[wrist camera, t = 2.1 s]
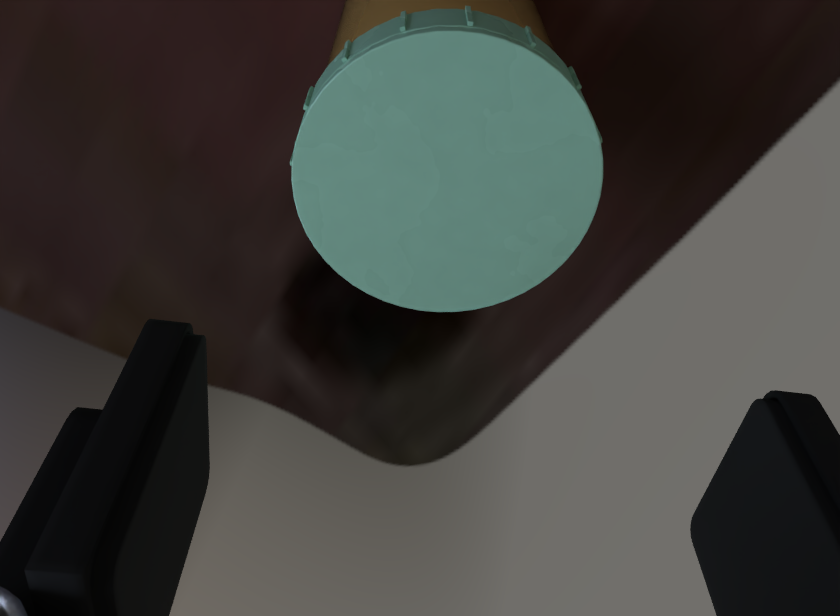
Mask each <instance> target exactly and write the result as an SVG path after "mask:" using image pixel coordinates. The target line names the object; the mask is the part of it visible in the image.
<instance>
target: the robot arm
mask: <svg viewBox="0 0 840 616" xmlns="http://www.w3.org/2000/svg"><path fill="white" fill-rule="evenodd" d="M208 428H209V427H208V391H207V353H206V338H205V336H204V335H195V334H193V328H192V325H191V324H190V323H181V322H173V321H164V320H155V319H149V320H148V321H147V322H146V324H145V325H144V327H143V329H142V331H141V333H140V335H139V337H138V339H137V341H136V343H135V346H134V348H133V350H132V352H131V354H130V356H129V358H128V360H127V362H126V364H125V366H124V368H123V370H122V372H121V374H120V376H119V378H118V380H117V382H116V384H115V386H114V388H113V390H112V392H111V394H110V396H109V398H108V400H107V402H106V404H105V406H104V409H103V410H100V409H89V408H79V407H77V408H76V409H75V410H73V411H72V412H71V413H70V415H69V417H68V418H67V419H66V421H65V423H64V425H63V427H62V429H61V430H60V432H59V434H58V436H57V438H56V439H55V442H54V443H53V445H52V447H51V449H50V451H49V452H48V454H47V456H46V458H45V460H44V462H43V464H42V465H41V467H40V469H39V471H38V473H37V475H36V477H35V478H34V480H33V482H32V484H31V486H30V488H29V490H28V491H27V493H26V495H25V497H24V499H23V501H22V503H21V504H20V506H19V508H18V510H17V512H16V514H15V515H14V517H13V519H12V521H11V523H10V525H9V527H8V528H7V530H6V532H5V534H4V536H3V538H2V540H1V541H0V616H169V614H170V610H171V607H172V604H173V600H174V597H175V594H176V590H177V587H178V584H179V580H180V577H181V574H182V570H183V567H184V564H185V560H186V557H187V554H188V550H189V547H190V543H191V540H192V537H193V534H194V530H195V527H196V524H197V520H198V517H199V514H200V510H201V507H202V503H203V500H204V497H205V493H206V489H207V485H208V479H209V469H210V466H209V465H210V462H209V429H208ZM690 530H691V539H692V542H693V546H694V548H695V551H696V555H697V557H698V561H699V564H700V567H701V570H702V573H703V575H704V579H705V582H706V585H707V588H708V591H709V594H710V597H711V600H712V603H713V606H714V609H715V612H716V615H717V616H840V435H839V434H838V432H837V430H836V429H835V427H834V425H833V424H832V422H831V420H830V418H829V417H828V415H827V414H826V412H825V410H824V408H823V407H822V405H821V404H820V402H819V401H818V400H817V398H816V397H814V396H812V395H810V394H802V393H793V392H784V391H770V392H769V393H767V394H766V395H765V396H764V398H763V399H756V400H755V401H754V402H753V403H752V405H751V406H750V408H749V410H748V412H747V414H746V416H745V418H744V420H743V422H742V423H741V425H740V427H739V429H738V431H737V433H736V435H735V437H734V438H733V441H732V442H731V444H730V446H729V448H728V450H727V452H726V454H725V456H724V457H723V459H722V461H721V463H720V465H719V467H718V469H717V471H716V473H715V474H714V476H713V478H712V480H711V482H710V484H709V486H708V488H707V490H706V492H705V493H704V495H703V497H702V499H701V501H700V503H699V505H698V507H697V509H696V511H695V513H694V515H693V517H692V520H691V529H690Z"/></svg>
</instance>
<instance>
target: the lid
mask: <svg viewBox="0 0 840 616" xmlns="http://www.w3.org/2000/svg"><path fill="white" fill-rule="evenodd" d="M581 88H582V87H581V84H580V82H579V80H578V78H577V76H576V73H575V71H574V69H573V68H572V66H570V67H569V68H567V66H566V65H565V63H564V62H563V61H562V60H561V59H560V58H559V56H558V55H557V54H556V53H555V52H554V51H553V50H552V49H551V48H550V47H549V46H548V45H546V44H545V43H544V42H543V41H541V40H540V39H539V38H538V37H537V36H535V35H534V34H533V33H532V31H531V28H530V27H529V26H527V25H526V27H525V28H522V27H520V26H519V25H517V24H515V23H512V22H510V21H507V20H505V19H503V18H500V17H497V16H494V15H490V14H486V13H483V12H480V11H471V6H465V10H463V9H431V10H426V11H419V12H414V13H410V14H407V13H406V11H402V12H401V16H399V17H395V18H393V19H391V20H389V21H387V22H384V23H382V24H380V25H378V26H375V27H374V28H372V29H370V30H369V31H367V32H366V33H364V34H362V35H361V36H359V37H358V38H356V39H355V40H354V41H353V42H352V43H351V41H350V40H348V41H346V42H345V46H344V49H343V50H342V51H341V52H340V53H339V54H338V55H337V56H336V58H335V59H334V60H333V61H332V62H331V63H330V64H329V65H328V67H327V68H326V70H325V71H324V73H323V74H322V76H321V77H320V78H319V80H318V82H317V84H316V86H315V88H314V87H312V86H311V87H310V89H309V91H308V94H307V98H306V101H305V104H304V107H303V109H304V110H305V113H304V116H303V119H302V123H301V126H300V129H299V132H298V135H297V139H296V142H295V147H294V150H293V153H292V157H291V160H290V165H292V188H293V196H294V201H295V205H296V208H297V212H298V216H299V218H300V220H301V223H302V225H303V227H304V230H305V232H306V234H307V235H308V237H309V239H310V240H311V242H312V244H313V245H314V247H315V248H316V250H317V251H318V252H319V253H320V255H321V256H322V257H323V259H324V260H325V261H326V262H327V263H328V264H329V265H330V266H331V267H332V268H333V269H334V270H335V271H336V272H337V273H338V274H339V275H341V276H342V277H343V278H344V279H346V280H347V281H348V282H350V283H351V284H352V285H354V286H356V287H357V288H359V289H361V290H362V291H364V292H366V293H367V294H369V295H372V296H374V297H376V298H378V299H381V300H383V301H385V302H388V303H392V304H395V305H398V306H401V307H406V308H410V309H415V310H421V311H432V312H458V311H467V310H474V309H479V308H483V307H488V306H492V305H495V304H498V303H501V302H504V301H506V300H509V299H511V298H513V297H516V296H518V295H520V294H522V293H524V292H526V291H528V290H529V289H531V288H533V287H534V286H536V285H537V284H539V283H541V282H542V281H543V280H544V279H546V278H547V277H548V276H550V275H551V274H552V273H554V272H555V271H556V270H557V269H558V268H559V267H560V266H561V265H562V264H563V263H564V262H565V261H566V260H567V259H568V258H569V256H570V255H571V254H572V253H573V251H574V250H575V249H576V248H577V246H578V245H579V244H580V242H581V240H582V239H583V237H584V235H585V234H586V232H587V230H588V229H589V226H590V224H591V222H592V219H593V217H594V215H595V213H596V209H597V206H598V202H599V199H600V195H601V189H602V182H603V154H602V148H601V143H603V141H602V137H601V135H600V133H599V130H598V128H597V126H596V124H595V121H594V119H593V117H592V115H591V112H590V110H589V108H588V106H587V103H586V101H585V99H584V97H583V94H582V92H581V90H580V89H581Z"/></svg>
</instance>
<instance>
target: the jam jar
mask: <svg viewBox="0 0 840 616" xmlns="http://www.w3.org/2000/svg"><path fill="white" fill-rule="evenodd" d="M465 6H471V11H480V12H483V13H486V14H490V15H494V16H497V17H500V18H503V19H505V20H507V21H510V22H512V23H515V24H517V25H519V26H520V27H522V28H525V27H526V25H527V26H529V27H530V28H531V31H532V33H533V34H534V35H535V36H537V37H538V38H539V39H540V40H541V41H543V42H544V43H545V44H546V45H548V46H549V47H550V48H551V49H552V50H553V51H554V48H553V46H552V44H551V41H550V39H549V36H548V34H547V32H546V29H545V27H544V24H543V22H542V20H541V17H540V15H539V13H538V10H537V8H536V5H535V3H534V1H533V0H346V2H345V5H344V8H343V12H342V15H341V19H340V22H339V26H338V29H337V33H336V36H335V39H334V43H333V46H332V50H331V53H330V57H329V60H328V64H327V67H328V65H329V64H330V63H331V62H332V61H333V60H334V59H335V58H336V56H337V55H338V54H339V53H340V52H341V51H342V50H343V49H344V46H345V42H346V41H348V40H350V41H351V43H352V42H353V41H354V40H355V39H356V38H358V37H359V36H361V35H362V34H364V33H366V32H367V31H369V30H370V29H372V28H374V27H375V26H378V25H380V24H382V23H384V22H387V21H389V20H391V19H393V18H395V17H399V16H401V12H402V11H406V13H407V14H410V13H414V12H419V11H426V10H431V9H463V10H465ZM554 52H555V51H554ZM327 67H326V68H327Z"/></svg>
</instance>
